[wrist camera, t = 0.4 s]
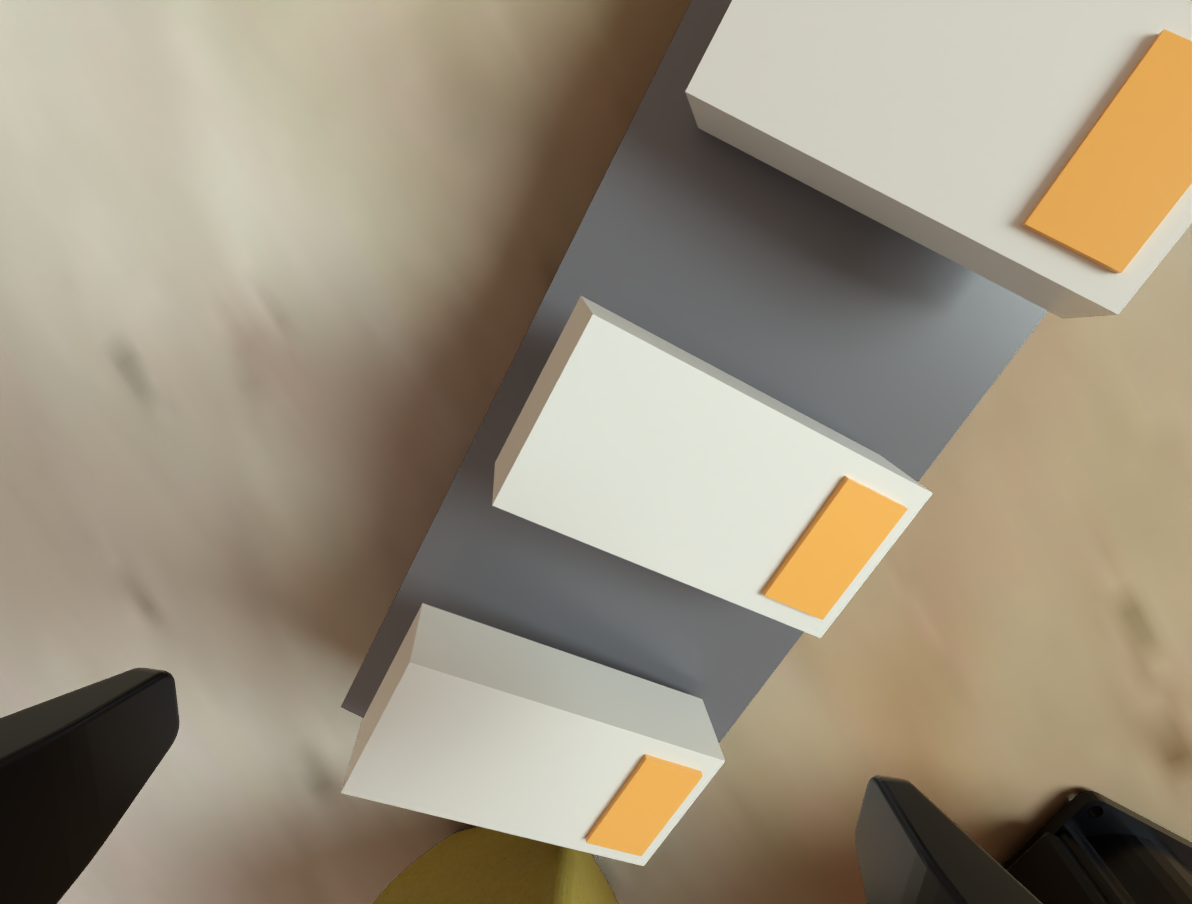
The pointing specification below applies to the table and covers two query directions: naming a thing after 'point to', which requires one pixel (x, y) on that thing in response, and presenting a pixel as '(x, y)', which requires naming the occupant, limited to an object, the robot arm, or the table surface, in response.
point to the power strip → (735, 346)
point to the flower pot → (499, 873)
